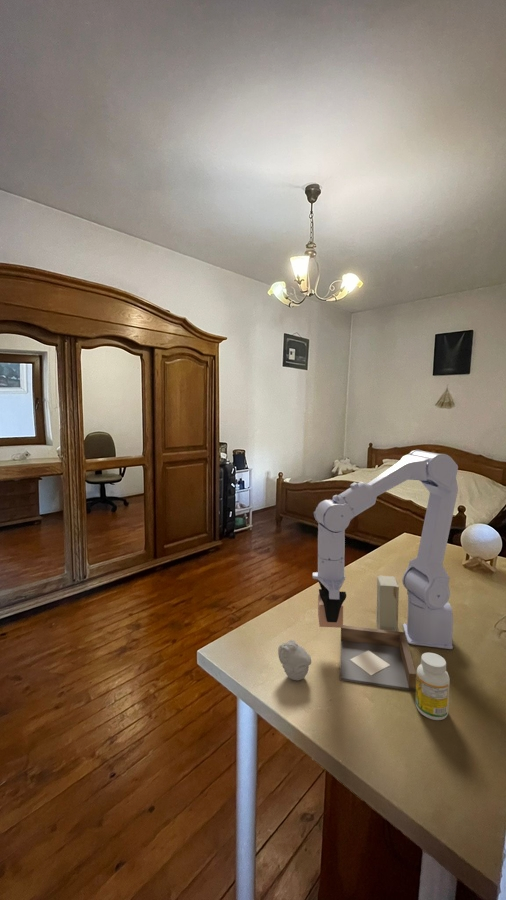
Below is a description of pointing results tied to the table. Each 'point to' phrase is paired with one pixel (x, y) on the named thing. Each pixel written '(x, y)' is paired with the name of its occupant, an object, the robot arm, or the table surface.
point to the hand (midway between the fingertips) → (330, 614)
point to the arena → (376, 658)
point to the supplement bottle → (432, 687)
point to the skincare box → (387, 603)
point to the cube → (322, 616)
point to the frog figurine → (294, 660)
